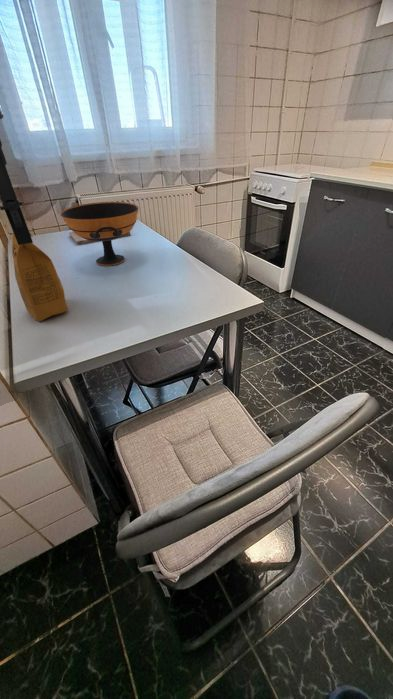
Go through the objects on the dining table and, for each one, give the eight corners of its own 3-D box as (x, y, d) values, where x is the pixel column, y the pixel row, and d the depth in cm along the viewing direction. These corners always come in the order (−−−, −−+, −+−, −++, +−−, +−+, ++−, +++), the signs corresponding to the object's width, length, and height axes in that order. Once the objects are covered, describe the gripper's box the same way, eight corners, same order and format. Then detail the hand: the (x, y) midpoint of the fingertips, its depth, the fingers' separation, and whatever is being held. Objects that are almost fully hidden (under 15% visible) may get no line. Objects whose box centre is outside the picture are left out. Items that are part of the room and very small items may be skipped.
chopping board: (77, 244, 126) (76, 241, 125) (69, 235, 137) (68, 232, 136) (130, 235, 135) (130, 231, 134) (119, 227, 146) (118, 224, 145)
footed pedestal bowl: (74, 250, 120) (61, 203, 109) (136, 242, 126) (130, 197, 116) (75, 285, 93) (58, 227, 82) (154, 273, 99) (148, 217, 88)
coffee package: (62, 296, 87) (35, 216, 73) (73, 313, 78) (45, 227, 65) (25, 305, 83) (-10, 223, 69) (33, 325, 74) (-6, 235, 61)
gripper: (-4, 83, 42) (50, 247, 57) (-7, 91, 51) (40, 232, 66) (-68, 81, 39) (6, 255, 54) (-59, 91, 48) (2, 238, 63)
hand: (25, 242), depth 60 cm, fingers closed
